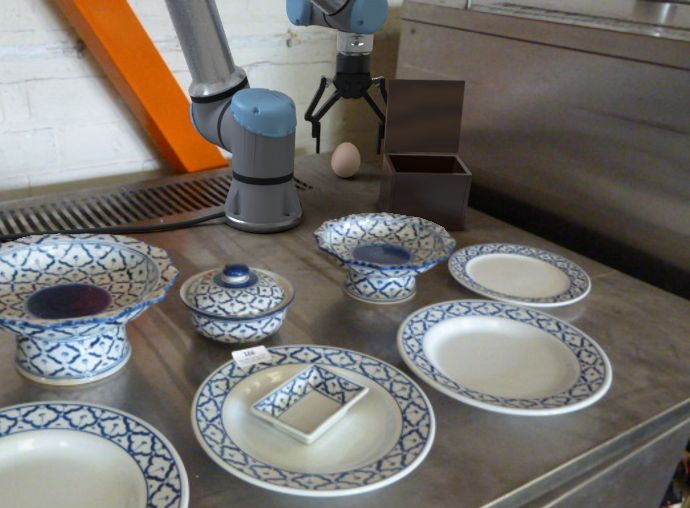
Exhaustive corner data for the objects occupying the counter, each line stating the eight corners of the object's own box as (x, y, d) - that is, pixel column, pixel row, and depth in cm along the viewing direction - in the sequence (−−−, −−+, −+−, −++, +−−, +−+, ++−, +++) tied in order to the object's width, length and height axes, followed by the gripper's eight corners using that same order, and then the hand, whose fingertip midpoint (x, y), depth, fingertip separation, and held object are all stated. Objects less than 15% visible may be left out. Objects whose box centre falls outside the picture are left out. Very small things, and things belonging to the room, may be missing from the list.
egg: (364, 176, 152) (367, 142, 148) (348, 183, 148) (350, 148, 144) (341, 170, 156) (343, 137, 152) (324, 177, 151) (326, 142, 147)
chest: (462, 230, 125) (472, 175, 120) (385, 228, 125) (392, 173, 120) (449, 206, 136) (457, 155, 131) (378, 204, 136) (383, 153, 131)
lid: (465, 80, 126) (458, 82, 131) (389, 78, 127) (385, 81, 132) (458, 152, 130) (452, 152, 135) (384, 151, 130) (380, 150, 135)
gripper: (295, 55, 135) (292, 156, 146) (417, 56, 135) (405, 158, 145) (294, 49, 142) (292, 147, 153) (411, 50, 141) (400, 148, 152)
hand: (347, 152), depth 149 cm, fingers open, 13 cm apart
